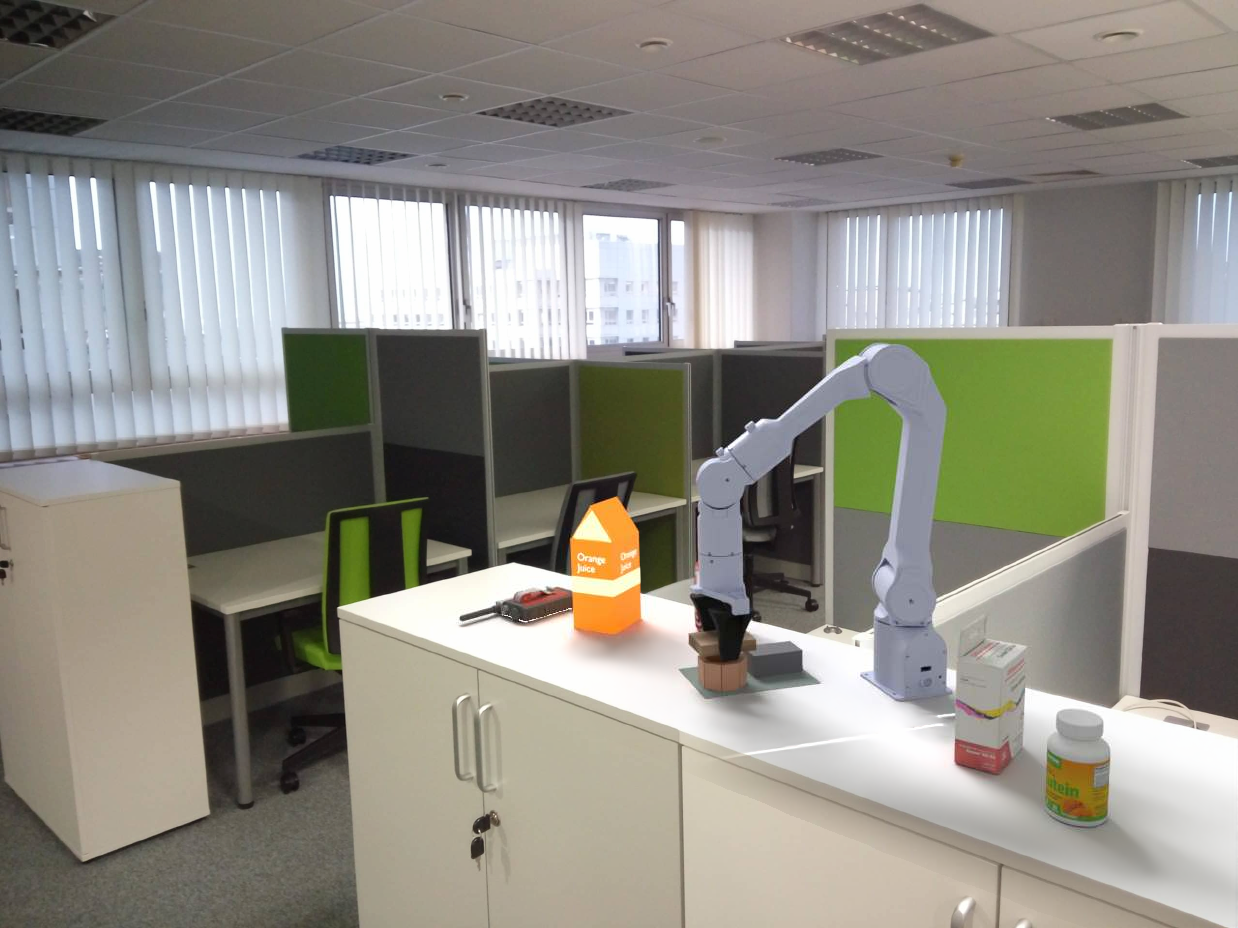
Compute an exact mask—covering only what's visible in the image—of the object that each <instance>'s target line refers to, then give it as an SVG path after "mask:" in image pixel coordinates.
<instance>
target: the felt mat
mask: <svg viewBox="0 0 1238 928" xmlns="http://www.w3.org/2000/svg"><path fill="white" fill-rule="evenodd" d="M678 670H679V672H680V673H681V674H682V675H683V676H684V678H686V680H687V681H689V683H690V684H691V685H692V686H693V687H694V688H695V689H696V690H697V691H698V692H699V694H701V696H702V697H703V698H704V700H708V699H709V700H710V699H715V698H724V697H729V696H738V695H745V694H752V693H760V692H766V691H774V690H775V691H776V690H783V689H787V688H789V689H790V688H795V687H797V688H798V687H803V686H811V685H812V686H813V685H817V684H818V685H819V684H822V682H821V681H819V679H817V678H816V677H815V676H813V675H812V674H810V673H809V672H808V671H806V670H805V669H804V668H803V672H795V673H788V674H780V675H773V676H765V677H757V678H754V677H753V676H752V675H751V674H749V673H748V672H747V683H746V684H745V685H744V686H743V687H742V688H741V689H737V690H730V691H716V690H710V689H705V688H703V686H702V685H701V684H700V683H699V682H698V666H692V667H683V668H678Z"/></svg>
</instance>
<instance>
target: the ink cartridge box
mask: <svg viewBox="0 0 1238 928" xmlns="http://www.w3.org/2000/svg"><path fill="white" fill-rule="evenodd" d="M988 616H989V615H988V613H984V614H983V615H981V616H980V617H979V618H977V619H975V620H974V621H973V622H971V623H969V624H968V625H967V626H966V627H965V628H963V629H961V630H960V633H959V641H958V647H957V648H958V649H957V656H956V665H955V666H956V670H955V671H956V673H955V675H956V676H955V677H956V678H955V679H956V680H955V681H956V682H955V705H954V706H955V710H954V711H955V712H954V713H955V714H954V715H955V716H954V756H953V757H954V759H953V761H954V763H955V764H959V765H963V766H965V767H969V768H973V769H977V770H980V771H984V772H987V773H989V774H990V773H991V774H993V775H994V774H995V775H999V774H1000V773H1001V771H1002V770H1003V769H1004V768H1005V767H1006V766H1007V765H1008V764H1009V762H1010V761H1012V760H1013V759H1014V757H1015V756H1016V755H1017V754H1018V752H1019V751H1020V750H1021V749H1023V747H1024V746H1023V745H1024V743H1023V742H1024V725H1025V723H1024V722H1025V721H1024V720H1025V703H1026V702H1025V699H1026V684H1027V682H1026V681H1027V678H1026V677H1027V662H1028V661H1027V658H1028V649H1029V647H1028V645H1023V644H1018V643H1013V642H1008V641H1007V642H1006V641H1001V640H994V639H989V638H986V631H987V623H988ZM974 631H976V634H975V635H973V636H972V637H971V638H970V636H971V635H972V634H973V633H974Z"/></svg>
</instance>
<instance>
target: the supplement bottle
mask: <svg viewBox="0 0 1238 928" xmlns="http://www.w3.org/2000/svg"><path fill="white" fill-rule="evenodd" d="M1055 726H1056V727H1055V729H1056V731H1054V732H1053V733H1051V734H1050V735H1049V737H1048V738H1047V739H1048V740H1047V745H1046V770H1045V790H1044V791H1045V793H1044V794H1045V795H1044V805H1045V806H1044V807H1045V811H1047V813H1048V814H1049V816H1051V817H1052V818H1054V819H1056V820H1057V821H1060V822H1062V823H1064V824H1068V825H1070V826H1075V827H1083V828H1093V827H1097V826H1100V825H1102V824H1104V823H1105V822H1106V821H1107V818H1108V812H1109V796H1110V795H1109V793H1110V792H1109V791H1110V773H1111V772H1110V771H1111V748H1110V745H1109V743H1108V742H1107V741H1106V739H1104V738H1103V735H1104V719H1103V718H1102V717H1101V715H1099V714H1097V713H1095V712H1092V711H1089V710H1086V709H1085V710H1084V709H1080V708H1065V709H1061V710H1059V711H1057V712H1056V717H1055Z"/></svg>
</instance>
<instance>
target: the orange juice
mask: <svg viewBox="0 0 1238 928" xmlns="http://www.w3.org/2000/svg"><path fill="white" fill-rule="evenodd" d="M579 523H580V524H579V525H578V527H576V530H575V532H574V533H573V535H572V537H571V538H570V559H571V560H570V563H571V591H572V592H573V609H572V612H573V628H574V629H577V628H579V629H578V630H583V631H592V632H598V633H605V634H611V635H616V634H618V633H619V632H621V631H623V630H624V629H626V628H627V627H630V626H631V625H633V624H634V623H636V622H637V621H639V620H641V619H642V604H641V601H642V599H641V566H640V540H639V539H640V535H639V534H640V532H639V530H638V528H637V527H636V525H635V523H634V522H633V520H632V518H631V517H630V515H629V514H628V512H627V510H626V509H625V507H624V506H623V504H622V502H621V501H620V500H619V498H618V496H615V497H612V498H611V497H610V498H609V499H605V500H603V501H600V502H597V503H593V504H592V505H589V508H588V510H587V512H586V513H585V515H584V517H583V518H582V519H581V522H579Z"/></svg>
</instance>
